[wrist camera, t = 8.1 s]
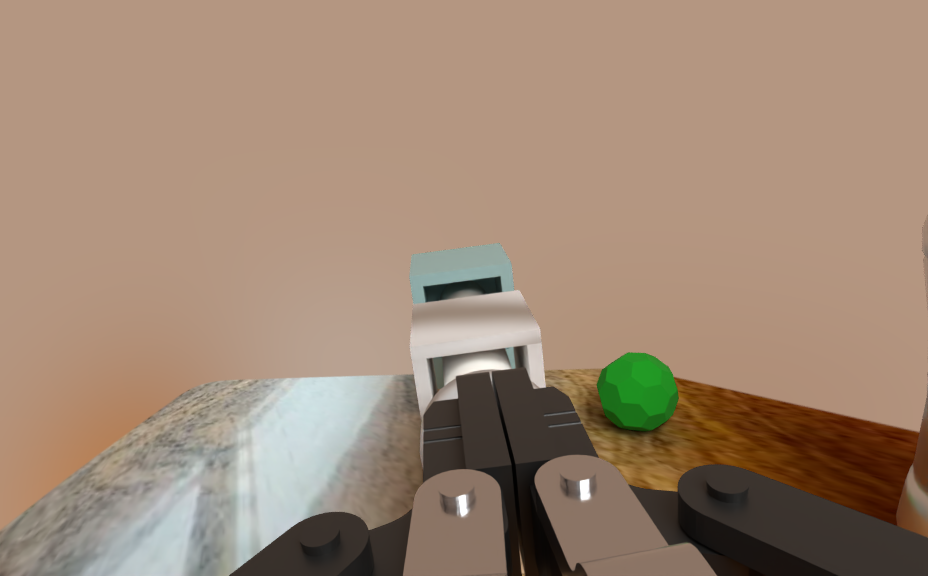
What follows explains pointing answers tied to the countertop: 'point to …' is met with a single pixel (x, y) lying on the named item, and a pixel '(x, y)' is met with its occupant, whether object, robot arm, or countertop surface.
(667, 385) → the polyhedron
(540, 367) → the sleeve stand
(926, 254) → the plastic bottle
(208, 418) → the countertop surface
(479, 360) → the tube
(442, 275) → the socket
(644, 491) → the robot arm
